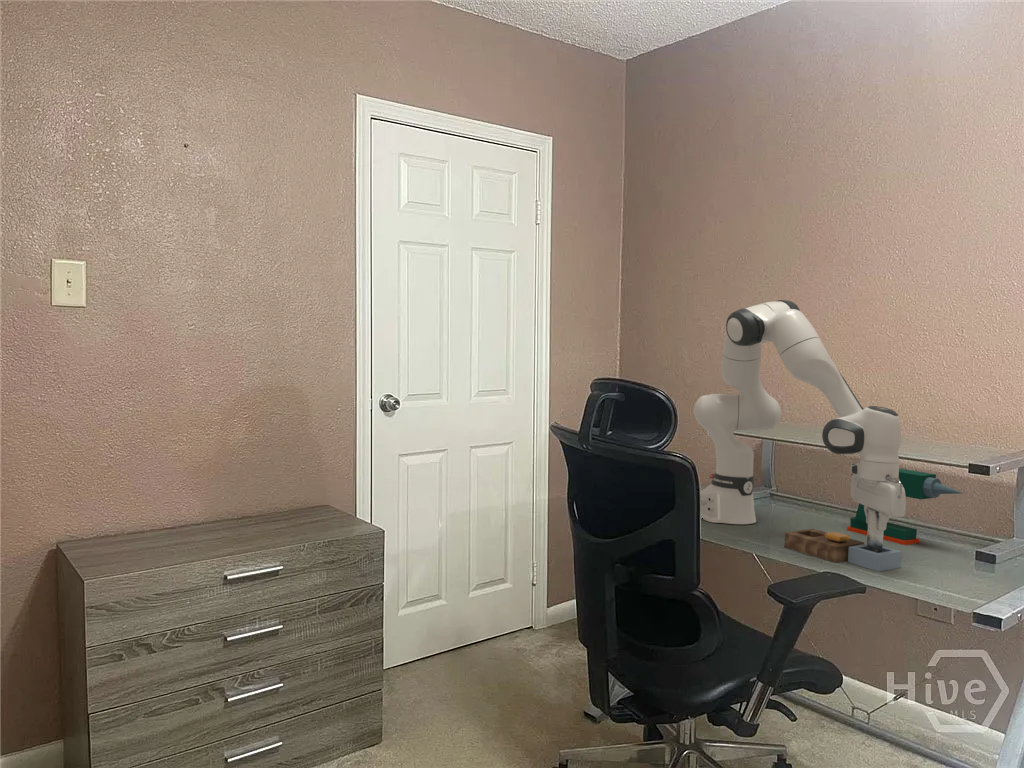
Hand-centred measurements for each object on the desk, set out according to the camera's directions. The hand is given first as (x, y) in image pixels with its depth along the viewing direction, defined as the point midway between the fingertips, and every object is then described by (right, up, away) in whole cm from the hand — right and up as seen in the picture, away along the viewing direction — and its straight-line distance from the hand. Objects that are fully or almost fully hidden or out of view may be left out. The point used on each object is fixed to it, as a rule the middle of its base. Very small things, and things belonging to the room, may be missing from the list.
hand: (875, 527), depth 193 cm
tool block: (-9, -9, +11) cm, 17 cm away
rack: (0, -10, 0) cm, 10 cm away
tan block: (-7, -9, +8) cm, 13 cm away
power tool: (+20, -9, +25) cm, 34 cm away
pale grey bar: (0, -8, 0) cm, 8 cm away
